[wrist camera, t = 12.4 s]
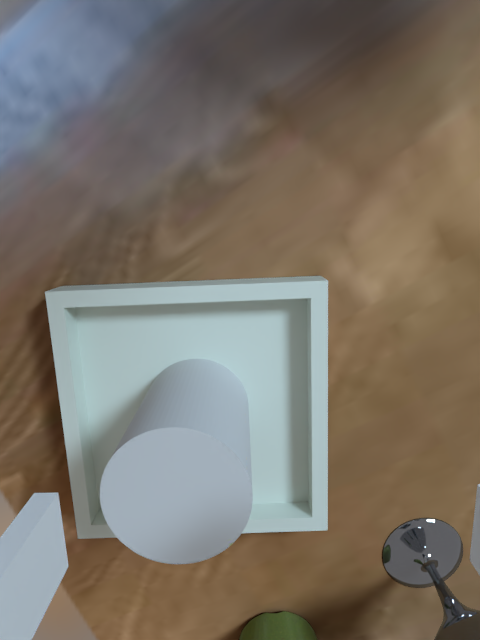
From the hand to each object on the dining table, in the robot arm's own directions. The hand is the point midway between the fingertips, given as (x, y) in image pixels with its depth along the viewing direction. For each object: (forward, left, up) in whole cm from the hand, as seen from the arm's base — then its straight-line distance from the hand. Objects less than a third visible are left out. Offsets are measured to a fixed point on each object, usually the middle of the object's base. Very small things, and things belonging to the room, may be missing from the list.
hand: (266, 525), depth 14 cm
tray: (+5, -4, -22) cm, 23 cm away
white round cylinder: (+5, -4, -21) cm, 22 cm away
